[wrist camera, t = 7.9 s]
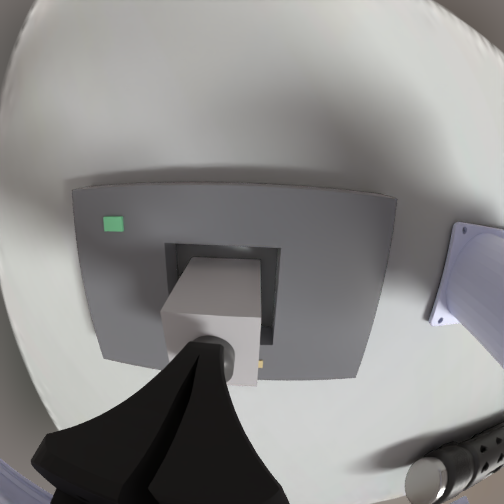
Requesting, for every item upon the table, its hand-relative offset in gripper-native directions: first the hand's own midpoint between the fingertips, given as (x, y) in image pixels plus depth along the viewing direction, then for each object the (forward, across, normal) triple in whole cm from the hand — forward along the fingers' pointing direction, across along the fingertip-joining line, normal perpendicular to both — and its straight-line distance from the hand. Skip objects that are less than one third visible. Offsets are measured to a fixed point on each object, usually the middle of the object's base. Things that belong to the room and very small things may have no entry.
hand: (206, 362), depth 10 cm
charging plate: (+7, 0, 0) cm, 7 cm away
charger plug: (+7, 0, 0) cm, 7 cm away
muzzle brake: (+7, -39, +29) cm, 49 cm away
